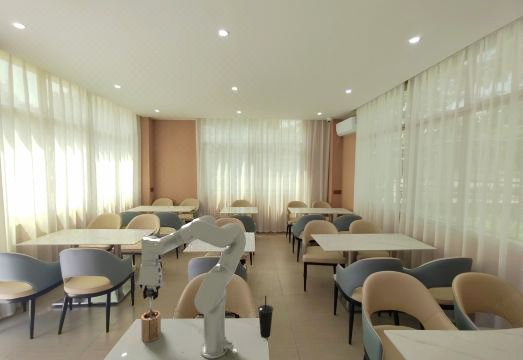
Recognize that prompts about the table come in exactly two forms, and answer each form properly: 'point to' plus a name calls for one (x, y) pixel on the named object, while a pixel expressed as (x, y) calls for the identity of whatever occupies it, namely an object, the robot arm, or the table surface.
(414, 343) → the table surface
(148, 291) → the plunger
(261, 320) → the drinking cup
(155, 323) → the brown faceted holder
